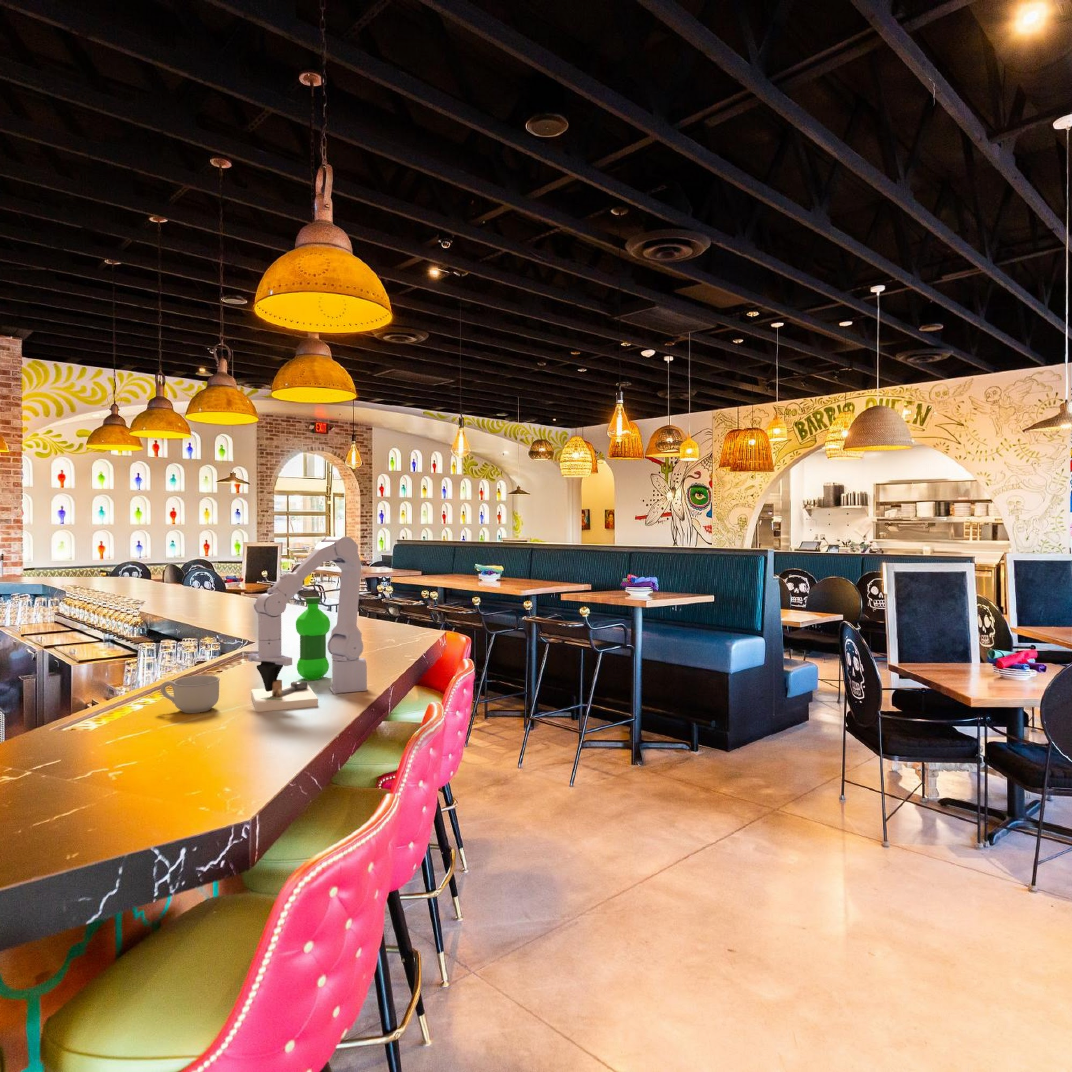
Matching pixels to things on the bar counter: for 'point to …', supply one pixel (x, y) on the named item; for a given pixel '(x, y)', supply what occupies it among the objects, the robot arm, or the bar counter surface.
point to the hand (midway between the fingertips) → (270, 690)
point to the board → (283, 699)
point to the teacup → (193, 693)
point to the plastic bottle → (312, 641)
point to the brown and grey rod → (278, 690)
